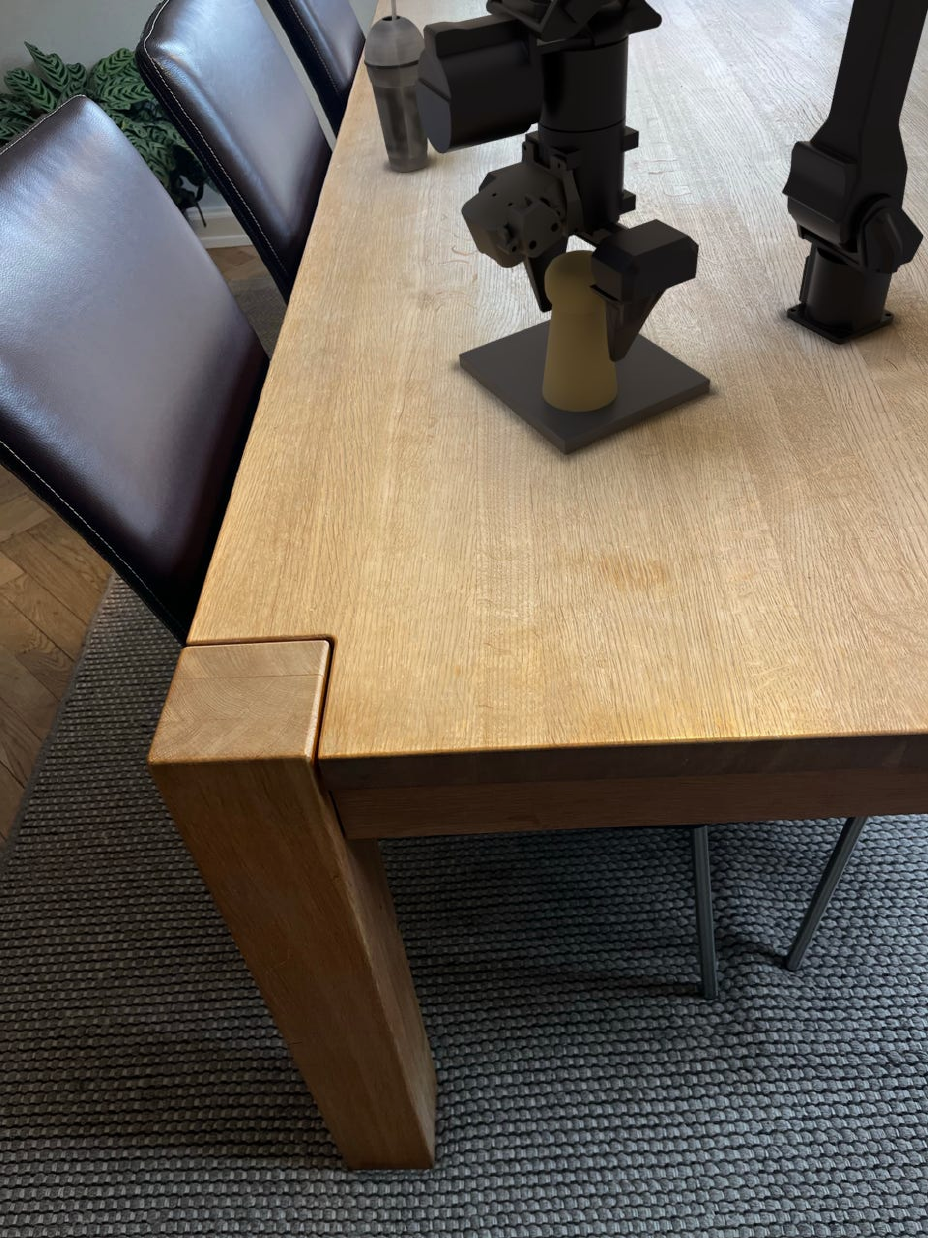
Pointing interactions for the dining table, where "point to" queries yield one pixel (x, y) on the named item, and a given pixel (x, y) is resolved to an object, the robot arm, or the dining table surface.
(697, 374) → the scale
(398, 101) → the beverage cup
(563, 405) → the tan pawn
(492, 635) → the dining table surface
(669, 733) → the dining table surface
